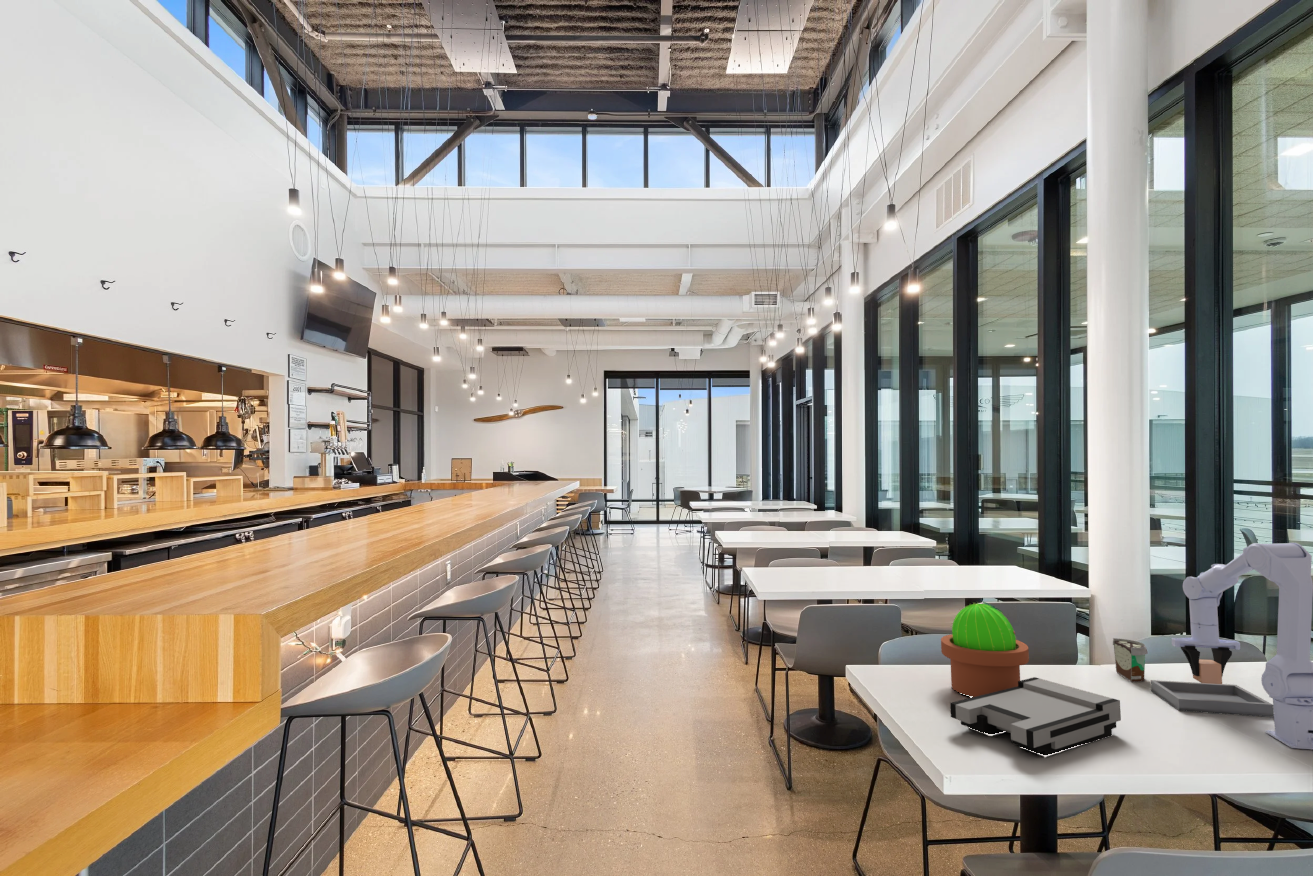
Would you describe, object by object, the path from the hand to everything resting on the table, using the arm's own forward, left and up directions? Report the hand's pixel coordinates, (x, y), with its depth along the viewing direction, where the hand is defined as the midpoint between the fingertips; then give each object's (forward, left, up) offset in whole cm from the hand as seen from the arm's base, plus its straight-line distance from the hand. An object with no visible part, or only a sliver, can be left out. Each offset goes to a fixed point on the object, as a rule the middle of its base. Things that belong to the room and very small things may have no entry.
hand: (1207, 675), depth 177 cm
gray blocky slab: (-32, +49, -8) cm, 59 cm away
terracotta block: (0, 0, -1) cm, 1 cm away
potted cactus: (-2, +54, -7) cm, 55 cm away
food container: (+21, +9, -7) cm, 24 cm away
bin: (0, 0, -7) cm, 7 cm away
